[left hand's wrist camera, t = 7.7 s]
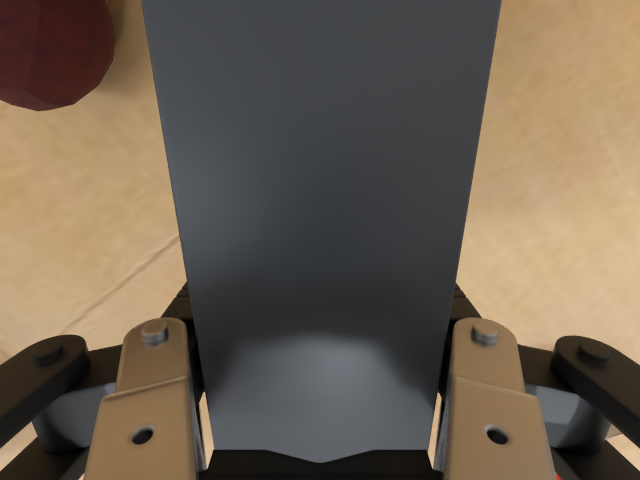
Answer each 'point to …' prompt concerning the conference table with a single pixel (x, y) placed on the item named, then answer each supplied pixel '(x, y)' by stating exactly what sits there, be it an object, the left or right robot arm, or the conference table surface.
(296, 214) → the bar
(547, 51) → the conference table surface
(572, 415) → the left robot arm
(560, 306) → the conference table surface
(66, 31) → the potato
